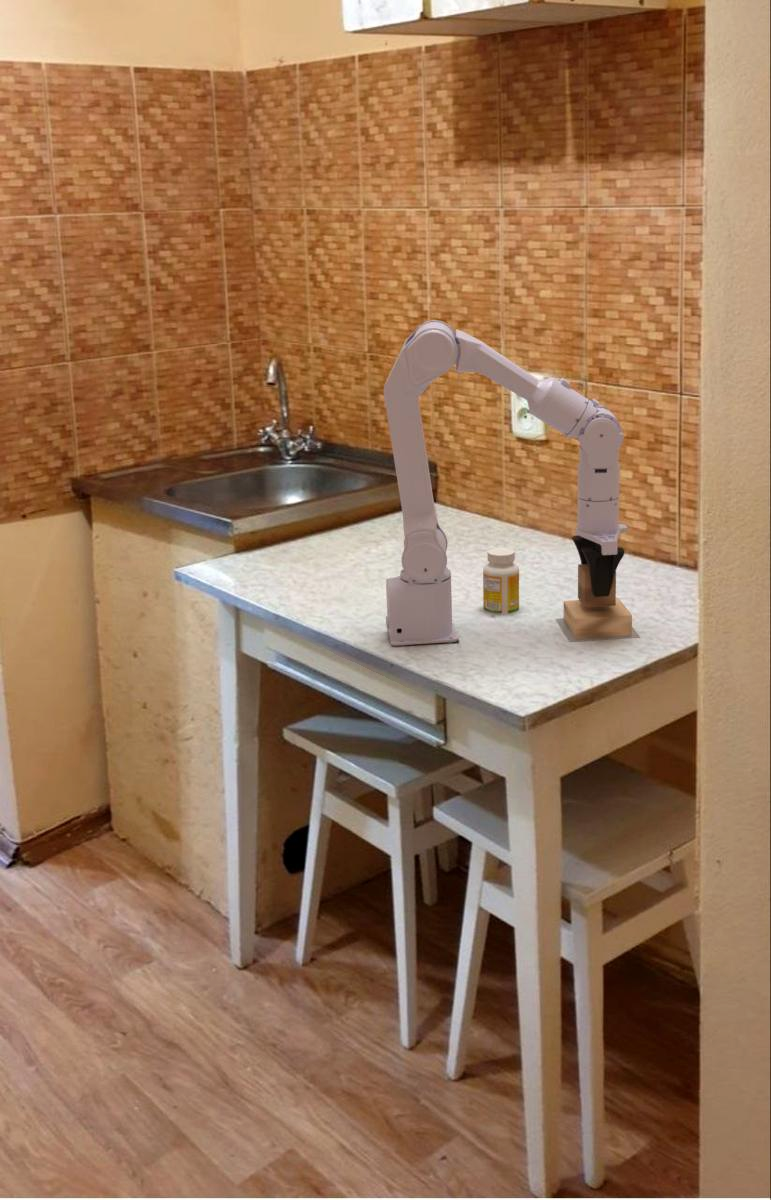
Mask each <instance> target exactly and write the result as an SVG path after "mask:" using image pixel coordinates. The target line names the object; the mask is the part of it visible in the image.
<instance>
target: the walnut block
mask: <svg viewBox="0 0 771 1200" xmlns="http://www.w3.org/2000/svg"><path fill="white" fill-rule="evenodd" d="M616 590H617V571H616V572H615V575H614V579H613V583H612V587H611V591H610V594H609V596H602V597H595V596H594V595H593V591H592V586H591V579H590V572H589V567H588V564H581V563H580V564H577V598H578V599H577V600H580V602H581V603H582V605H583V606H584V607H601V606H616V598H617V595H616V594H617V591H616Z"/></svg>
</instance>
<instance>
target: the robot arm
mask: <svg viewBox="0 0 771 1200" xmlns="http://www.w3.org/2000/svg"><path fill="white" fill-rule="evenodd" d="M455 365H456V366H455ZM453 366H455V367H456V369H455V370H456V373H458V374H459V373H461V374H462V373H475V372H476V373H479V374H481V375H482V376H484V377H486V378H488V379H489V380H491V381H493V382H495V383H496V384H498V385H500V386H502V387H504V388H505V389H507V390H509V391H510V392H513V393H514V394H516V395H517V396H519V397H520V398H523V399H524V400H526V401H527V406H528V407H527V408H528V411H529V413H530V415H531V416H534V417H535V419H536V418H537V419H538V420H540V421H541V422H543V423H544V424H546V425H547V426H550V427H551V428H552V429H554V430H556V431H557V432H559V433H560V434H562V435H564V436H565V437H567V438H576V439H577V441H578V442H579V446H578V448H579V451H578V452H579V454H578V455H579V457H578V459H579V460H578V463H577V498H576V499H577V505H576V506H577V514H576V515H577V521H576V522H577V525H576V527H575V534H576V535H574V536H572V537H571V540H572V542H573V543H574V545H575V548H576V550H577V552H578V555H579V559H580V560H579V561H580V564H588V567H589V572H590V579H591V586H592V591H593V595H594V596H595V597H602V596H609V594H610V591H611V587H612V583H613V579H614V575H615V572H616V573H617V568H618V566H619V564H620V563H621V560H622V559H623V558H624V555H625V552H626V551H625V550H624V548H623V547H618V538H619V537H620V534H622V533H627V532H628V525H626V524H621V523H620V483H621V482H620V480H621V479H620V472H621V464H620V462H619V461H620V460H619V459H620V448H621V446H622V445H623V441H624V438H625V434H624V433H623V429H622V425H621V424H620V422H619V420H618V419H617V417H616V416H615V414H614V413H613V412H612V411H610V410H609V408H607V407H606V406H605V405H600V401H598V400H597V399H595V398H592V399H591V400H590V399H588V398H587V397H585V396H584V395H582V394H581V393H579V392H578V391H576V390H574V389H573V388H571V387H570V386H571V382H570V381H569V380H567V379H565V378H564V377H562V378H560V380H559V379H557V378H555V377H546V378H544V379H538V378H537V377H535V376H533V375H532V374H531V373H530V372H528V371H527V370H526V369H523V368H522V367H521V366H519V365H517V364H516V363H514V362H513V361H511V360H510V359H508V358H507V357H505V356H504V355H502V354H501V353H500V352H498V351H497V350H495V349H493V347H490V346H489V345H488V344H486V343H485V342H483V341H481V340H480V339H478V338H477V337H474V336H472V335H471V334H468V333H466V332H465V331H462V330H459V329H456V330H455V331H454V329H453V328H452V327H451V326H450V325H449V324H448V323H446V322H444V321H442V320H435V319H433V320H429V321H428V320H427V321H425V322H423V323H422V324H420V325H419V326H418V327H417V328H416V329H415V330H414V331H413V332H412V333H410V335H409V336H408V337H407V338H406V339H405V341H404V343H403V345H402V348H401V349H400V351H399V354H398V356H397V358H396V360H395V362H394V364H393V366H392V368H391V370H390V372H389V374H388V377H387V379H386V380H385V383H384V386H383V397H384V398H383V399H384V404H385V411H386V417H387V422H388V429H389V434H390V435H389V436H390V442H391V447H392V448H391V449H392V454H393V460H394V461H393V462H394V469H395V475H396V479H397V486H398V493H399V499H400V506H401V512H402V522H403V535H404V538H403V551H402V554H401V561H400V562H401V566H402V569H401V570H400V574H399V576H395V577H390V578H386V579H385V582H386V583H385V586H386V588H385V590H386V591H385V592H386V614H387V615H386V616H385V627H386V629H387V631H388V636H389V641H390V644H391V645H392V646H408V645H426V644H427V645H428V644H439V643H442V644H443V643H456V642H458V641H459V636H458V634H457V631H456V629H455V626H454V624H453V609H452V608H453V605H452V604H453V603H452V597H453V596H452V572H451V570H450V569H449V568H448V567H447V565H448V556H447V550H448V538H447V535H446V533H445V532H444V530H443V529H442V527H441V526H440V524H439V521H438V515H437V511H436V507H435V501H434V495H433V488H432V487H433V485H432V482H431V481H432V480H431V476H430V475H431V474H430V467H429V460H428V454H427V448H426V447H427V445H426V440H425V439H426V438H425V434H424V427H423V420H422V414H421V407H420V401H419V398H420V396H421V395H422V394H423V393H424V391H426V389H427V388H428V387H429V385H430V384H431V383H432V382H433V381H435V380H436V379H438V378H440V377H442V376H443V375H445V373H447V372H448V371H450V370H451V369H452V368H453Z"/></svg>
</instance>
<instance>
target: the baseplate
mask: <svg viewBox="0 0 771 1200" xmlns="http://www.w3.org/2000/svg"><path fill="white" fill-rule="evenodd" d="M555 621H556V622H557V624H558V626H559V628H560V629H561V631H562V632H563V634H564V635H565V637H566V639H567V640H568V642H569V643H577V642H579V643H580V642H595V641H610V640H613V641H614V640H626V639H641V638H642V637H641V636H640V634H639V633H638V632H637V631H636V630H635V627H633V626H632V635H631V636H615V637H599V638H583V639H575V638H574V636H573V635H572V633H571V632H570V630H569V628H568V627H567V625H566V624H565V622H564V617H562V618H555Z"/></svg>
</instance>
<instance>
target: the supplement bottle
mask: <svg viewBox="0 0 771 1200" xmlns="http://www.w3.org/2000/svg"><path fill="white" fill-rule="evenodd" d="M515 559H516V555H515V550H514V549H512V548H507V547H497V548H490V549H489V550H488V551H487V561H488V562H487V564H485V565H484V566H483V568H482V570H483V571H482V581H483V585H482V586H483V587H482V588H483V591H482V592H483V593H482V594H483V599H482V600H483V604H482V607H483V609H482V610H483V612H485V613H487V614H490V615H497V616H506V615H511V614H515V613H517V612H518V611H519V610H520V569H519V566H518V565H517V563H514V561H515Z"/></svg>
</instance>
